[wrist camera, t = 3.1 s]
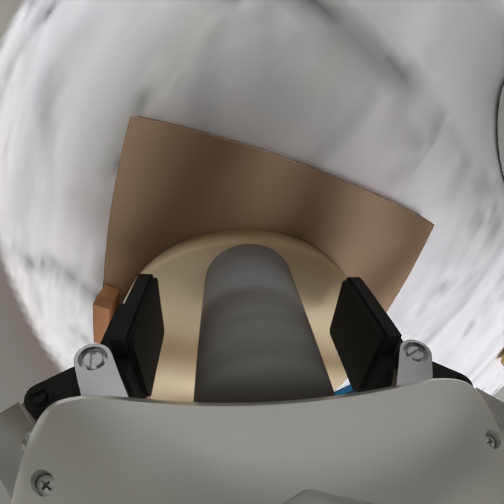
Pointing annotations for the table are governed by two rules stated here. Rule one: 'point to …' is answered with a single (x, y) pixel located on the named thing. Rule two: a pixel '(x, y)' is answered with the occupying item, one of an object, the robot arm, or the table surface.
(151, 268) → the dial
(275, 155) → the board
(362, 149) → the table surface
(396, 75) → the table surface
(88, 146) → the table surface
